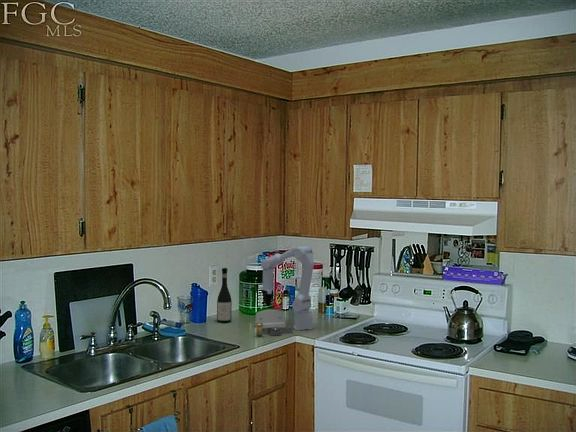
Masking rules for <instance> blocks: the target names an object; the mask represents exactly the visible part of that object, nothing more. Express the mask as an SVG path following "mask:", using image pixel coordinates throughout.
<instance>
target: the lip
mask: <svg viewBox="0 0 576 432" xmlns="http://www.w3.org/2000/svg"><path fill="white" fill-rule="evenodd" d="M293 333H294V327H293V326H286V327H270V328H262V335H269V336H270V337H274V336H276V337H277V336H282V335H283V334H293Z"/></svg>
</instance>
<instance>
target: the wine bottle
mask: <svg viewBox="0 0 576 432" xmlns="http://www.w3.org/2000/svg"><path fill="white" fill-rule="evenodd" d="M221 278H222V279H221V287H220V291H219V293H218V296H217V300H216V321H217V322H218V323H221V324H222V323H223V324H227V323H230V322H231V321H232V307H233V306H232V304H233V303H232V302H233V301H232V296H231V293H230V291H229V288H228V268H227V267H222V268H221Z"/></svg>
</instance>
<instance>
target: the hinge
mask: <svg viewBox="0 0 576 432" xmlns="http://www.w3.org/2000/svg"><path fill="white" fill-rule="evenodd" d="M284 316H285V315H284V312H283V311H281V310H278V309H264V310H260V311H258V312H256V313H255V319H254V325H255V324H256V323H263V326H262V328H270V327H287V325H286V320H285V317H284Z"/></svg>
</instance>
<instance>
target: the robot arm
mask: <svg viewBox="0 0 576 432" xmlns="http://www.w3.org/2000/svg"><path fill="white" fill-rule="evenodd" d="M292 257H293V258H295V259H296V260H297V261H298V262H300V263H301V265H302V272H301V276H300V282H299V288H298V293H297V294H296V296H295V297H294V301H293V302H292V307H291V308H292V310H293V312H294V324H293V325H292V327H293V329H294V330H295V331H298V330H299V331H302V330H304V331H306V329H307V330H314V315H313V311H310V309H311V307H312V301H311V299H312V297H311V296H310V289H311V288H310V287H311V283H312V278H313V277H312V276H313V273H314V267H315V266H314V265H315V261H314V250H313V249H312V248H311V247H310V246H309V245H305V246H296V247H293V248H291V249H289V250H286V251H285V252H284V253H282V254H281V253H274V254H273V256H272V255H271V256H269V257H268V258H267V259H266V258H264V259H262V260H261V262H260V266H261V269H262V287H260V288H259V289H260V290H261V291H260V292H261V294H262V298H263V303H265V306H266V307H270V306H271V303H272V300H273V297H274V295H275V293H272V291H273V290H274V288H273V286H274V285H273V284H274V271H275V267H277V266H279V265H282V264H284V261H285V260H288V259H290V258H292Z"/></svg>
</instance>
